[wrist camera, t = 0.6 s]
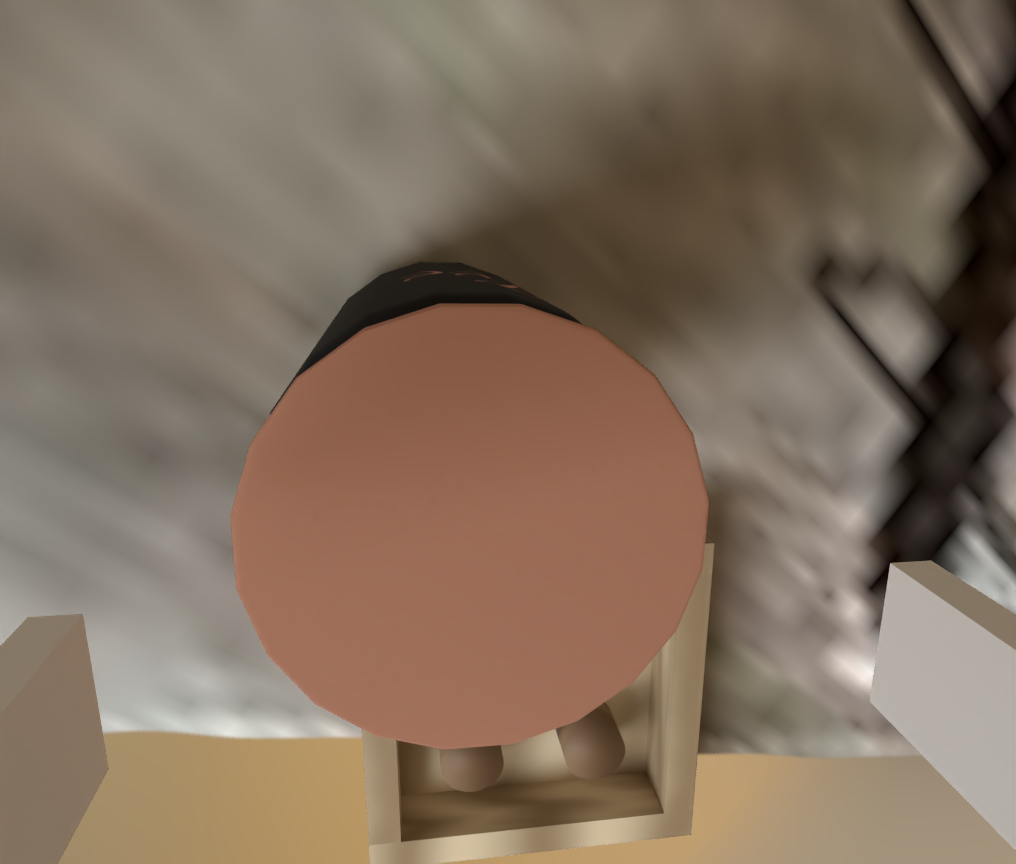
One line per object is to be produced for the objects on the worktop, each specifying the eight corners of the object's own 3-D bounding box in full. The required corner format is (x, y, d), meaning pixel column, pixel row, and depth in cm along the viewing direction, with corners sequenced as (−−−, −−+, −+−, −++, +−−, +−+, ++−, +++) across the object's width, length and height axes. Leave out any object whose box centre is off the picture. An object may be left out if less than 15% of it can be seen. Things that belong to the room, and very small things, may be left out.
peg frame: (373, 814, 39) (370, 871, 36) (356, 531, 35) (352, 564, 32) (666, 783, 41) (691, 834, 38) (685, 513, 37) (714, 543, 34)
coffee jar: (602, 379, 35) (801, 532, 18) (439, 537, 36) (478, 828, 18) (437, 205, 32) (483, 185, 14) (265, 383, 33) (116, 561, 15)
